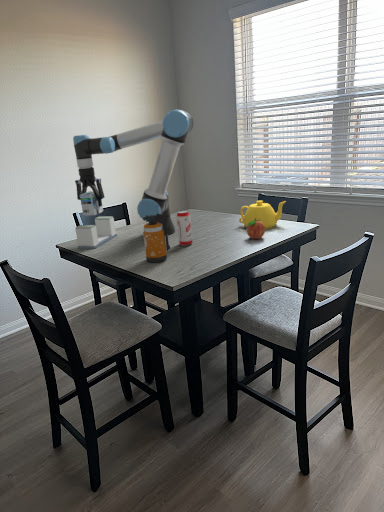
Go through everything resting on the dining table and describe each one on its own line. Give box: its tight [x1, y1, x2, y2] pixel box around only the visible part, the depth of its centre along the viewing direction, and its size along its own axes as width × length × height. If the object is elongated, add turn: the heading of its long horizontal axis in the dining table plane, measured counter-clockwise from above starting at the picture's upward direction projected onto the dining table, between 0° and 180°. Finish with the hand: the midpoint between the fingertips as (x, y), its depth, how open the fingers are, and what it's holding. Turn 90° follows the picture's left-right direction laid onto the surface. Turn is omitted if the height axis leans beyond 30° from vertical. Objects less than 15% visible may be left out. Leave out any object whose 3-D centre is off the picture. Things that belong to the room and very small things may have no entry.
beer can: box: [176, 210, 193, 247], centre depth 185 cm, size 6×6×16 cm
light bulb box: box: [79, 190, 104, 217], centre depth 199 cm, size 11×7×11 cm, turn 168°
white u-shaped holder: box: [74, 215, 118, 250], centre depth 204 cm, size 10×23×11 cm, turn 163°
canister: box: [142, 214, 171, 263], centre depth 166 cm, size 9×11×20 cm
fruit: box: [246, 218, 266, 240], centre depth 185 cm, size 9×10×10 cm
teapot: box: [238, 200, 287, 230], centre depth 205 cm, size 25×18×14 cm
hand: (93, 212), depth 201 cm, fingers closed on light bulb box, 7 cm apart
